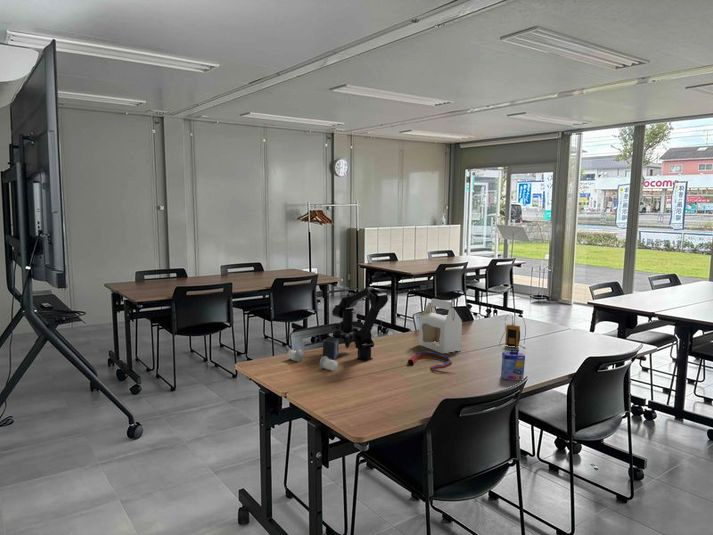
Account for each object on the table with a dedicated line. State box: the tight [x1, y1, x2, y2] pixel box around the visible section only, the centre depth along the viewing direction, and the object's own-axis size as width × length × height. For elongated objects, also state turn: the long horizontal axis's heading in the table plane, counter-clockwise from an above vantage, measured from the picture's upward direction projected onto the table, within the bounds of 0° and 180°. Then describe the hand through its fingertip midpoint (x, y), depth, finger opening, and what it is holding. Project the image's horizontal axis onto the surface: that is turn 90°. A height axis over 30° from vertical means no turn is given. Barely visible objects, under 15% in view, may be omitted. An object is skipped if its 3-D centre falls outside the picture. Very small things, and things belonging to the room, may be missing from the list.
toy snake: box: [407, 350, 456, 375], centre depth 265 cm, size 31×22×5 cm
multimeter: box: [498, 313, 527, 348], centre depth 306 cm, size 15×10×20 cm
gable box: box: [418, 297, 463, 354], centre depth 297 cm, size 22×13×28 cm, turn 33°
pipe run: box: [286, 349, 338, 372], centre depth 261 cm, size 30×6×6 cm, turn 52°
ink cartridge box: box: [500, 349, 526, 381], centre depth 246 cm, size 10×6×14 cm, turn 88°
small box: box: [322, 336, 340, 361], centre depth 272 cm, size 11×6×10 cm, turn 168°
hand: (347, 347), depth 284 cm, fingers closed
